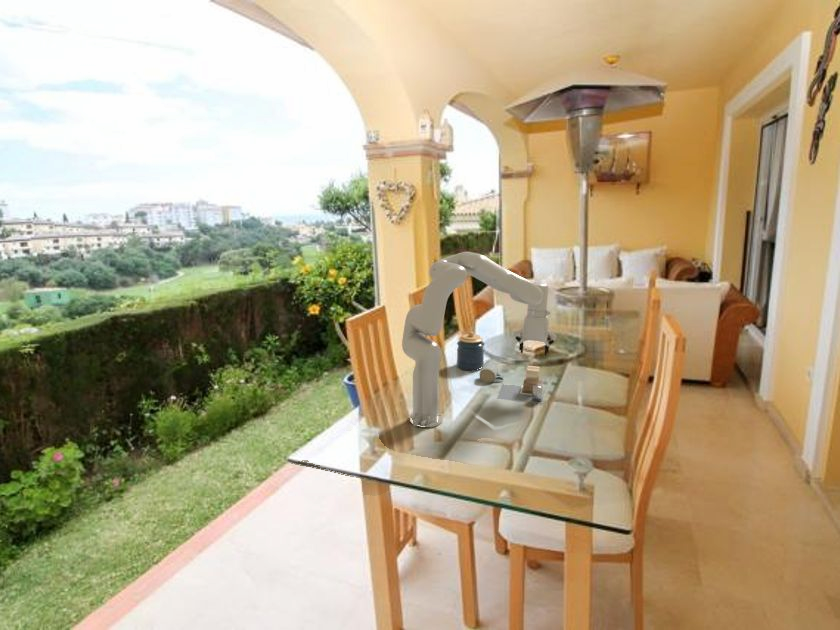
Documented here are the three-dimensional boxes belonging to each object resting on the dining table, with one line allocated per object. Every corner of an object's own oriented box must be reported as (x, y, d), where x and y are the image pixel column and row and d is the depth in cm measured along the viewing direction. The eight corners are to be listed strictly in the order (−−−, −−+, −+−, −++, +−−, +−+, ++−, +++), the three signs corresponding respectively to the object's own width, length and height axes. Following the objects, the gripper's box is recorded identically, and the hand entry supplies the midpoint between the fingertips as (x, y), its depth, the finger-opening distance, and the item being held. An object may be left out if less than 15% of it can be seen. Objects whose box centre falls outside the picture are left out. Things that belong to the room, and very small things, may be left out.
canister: (483, 372, 228) (484, 336, 224) (455, 370, 230) (456, 335, 225) (484, 362, 240) (485, 328, 236) (457, 361, 242) (458, 327, 238)
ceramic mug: (478, 383, 215) (479, 367, 213) (481, 376, 222) (481, 361, 220) (502, 386, 212) (503, 370, 210) (504, 379, 220) (505, 363, 218)
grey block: (541, 402, 193) (542, 388, 192) (531, 401, 195) (532, 387, 193) (542, 398, 197) (543, 384, 196) (532, 397, 198) (533, 383, 197)
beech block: (538, 384, 201) (538, 371, 199) (525, 383, 202) (526, 369, 201) (538, 380, 205) (539, 366, 204) (526, 378, 207) (527, 365, 205)
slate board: (542, 406, 193) (542, 403, 192) (496, 400, 198) (497, 398, 197) (544, 388, 209) (544, 386, 209) (502, 383, 214) (502, 381, 214)
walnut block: (539, 394, 201) (540, 385, 200) (522, 392, 203) (523, 383, 202) (541, 388, 207) (541, 379, 206) (524, 386, 209) (524, 377, 208)
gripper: (559, 312, 197) (555, 352, 202) (516, 309, 202) (513, 348, 206) (558, 317, 190) (554, 358, 195) (514, 313, 195) (511, 353, 199)
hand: (533, 353), depth 200 cm, fingers open, 9 cm apart
